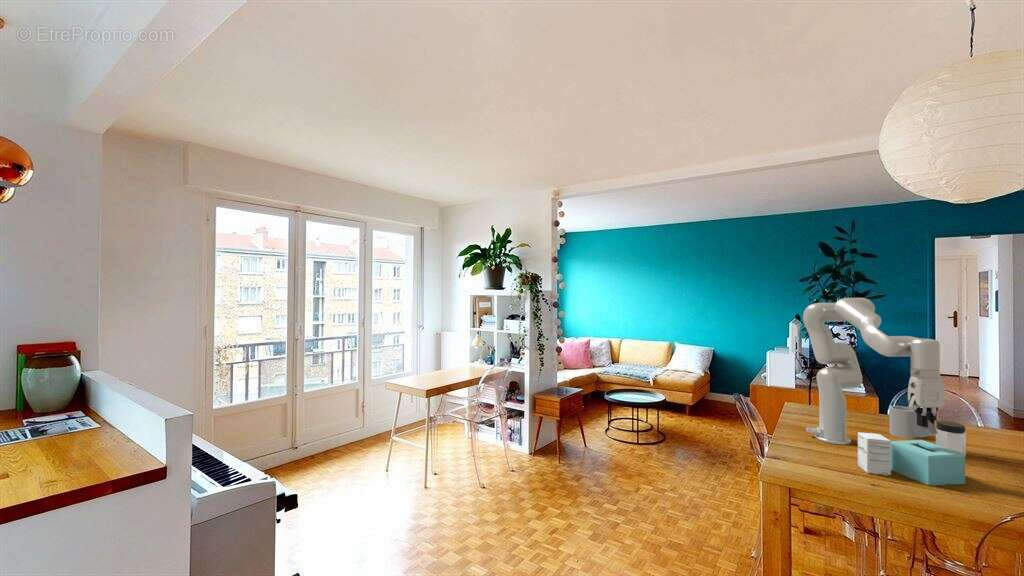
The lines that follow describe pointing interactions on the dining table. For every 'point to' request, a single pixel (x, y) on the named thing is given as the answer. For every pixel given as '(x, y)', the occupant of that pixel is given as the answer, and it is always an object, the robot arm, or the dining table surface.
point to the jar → (951, 436)
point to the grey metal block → (923, 429)
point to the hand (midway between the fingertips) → (925, 425)
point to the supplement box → (874, 453)
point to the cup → (902, 421)
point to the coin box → (928, 462)
